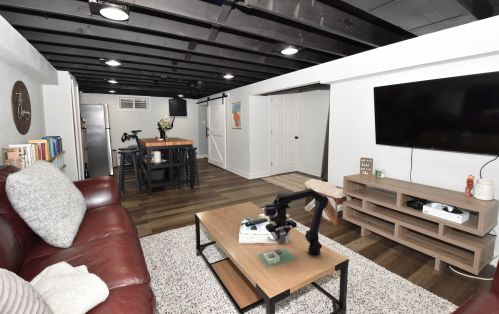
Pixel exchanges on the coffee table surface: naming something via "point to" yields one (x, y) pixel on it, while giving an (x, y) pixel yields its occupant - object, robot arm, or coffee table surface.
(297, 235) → the coffee table surface
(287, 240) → the cracker box
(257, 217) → the coffee table surface
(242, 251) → the coffee table surface
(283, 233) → the black plug
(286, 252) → the circuit board
